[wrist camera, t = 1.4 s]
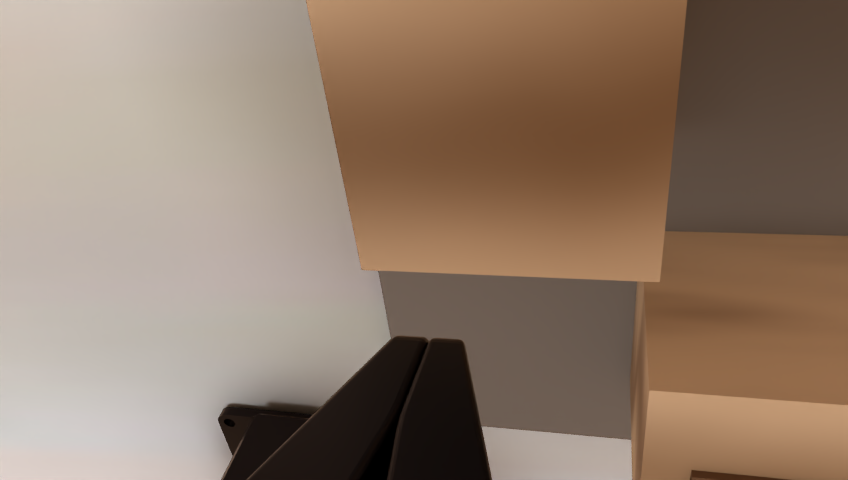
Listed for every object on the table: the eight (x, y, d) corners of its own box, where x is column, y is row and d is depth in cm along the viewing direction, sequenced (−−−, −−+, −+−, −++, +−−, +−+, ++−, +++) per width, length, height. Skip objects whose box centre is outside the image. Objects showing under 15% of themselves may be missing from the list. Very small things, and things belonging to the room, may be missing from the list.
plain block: (648, 134, 18) (659, 282, 14) (421, 135, 20) (361, 269, 15) (667, -122, 15) (691, -42, 10) (391, -99, 16) (302, -20, 12)
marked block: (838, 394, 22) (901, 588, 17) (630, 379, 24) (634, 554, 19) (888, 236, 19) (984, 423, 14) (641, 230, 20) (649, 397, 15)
